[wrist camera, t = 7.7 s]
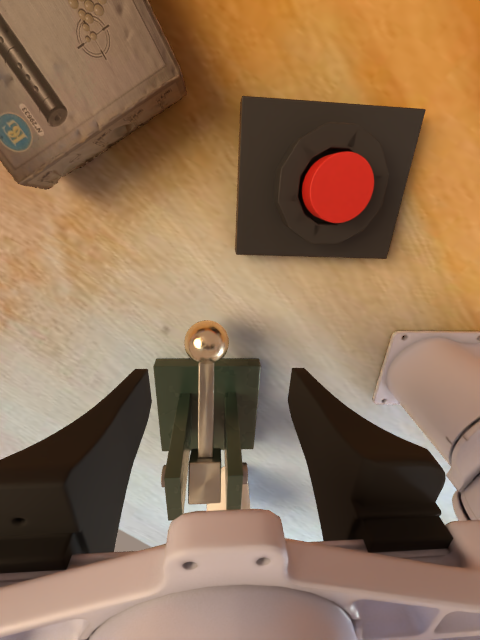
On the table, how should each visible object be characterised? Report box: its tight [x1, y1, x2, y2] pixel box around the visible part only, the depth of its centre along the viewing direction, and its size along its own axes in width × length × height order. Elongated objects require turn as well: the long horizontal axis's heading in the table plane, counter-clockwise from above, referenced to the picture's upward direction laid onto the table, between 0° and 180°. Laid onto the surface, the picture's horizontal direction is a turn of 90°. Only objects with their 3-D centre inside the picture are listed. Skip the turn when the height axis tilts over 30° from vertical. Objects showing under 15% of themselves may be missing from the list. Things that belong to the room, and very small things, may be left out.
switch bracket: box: [154, 359, 261, 520], centre depth 24 cm, size 10×9×9 cm
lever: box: [184, 320, 229, 504], centre depth 21 cm, size 12×3×3 cm, turn 177°
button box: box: [235, 96, 425, 259], centre depth 19 cm, size 11×9×3 cm
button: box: [302, 151, 374, 223], centre depth 17 cm, size 4×4×2 cm
